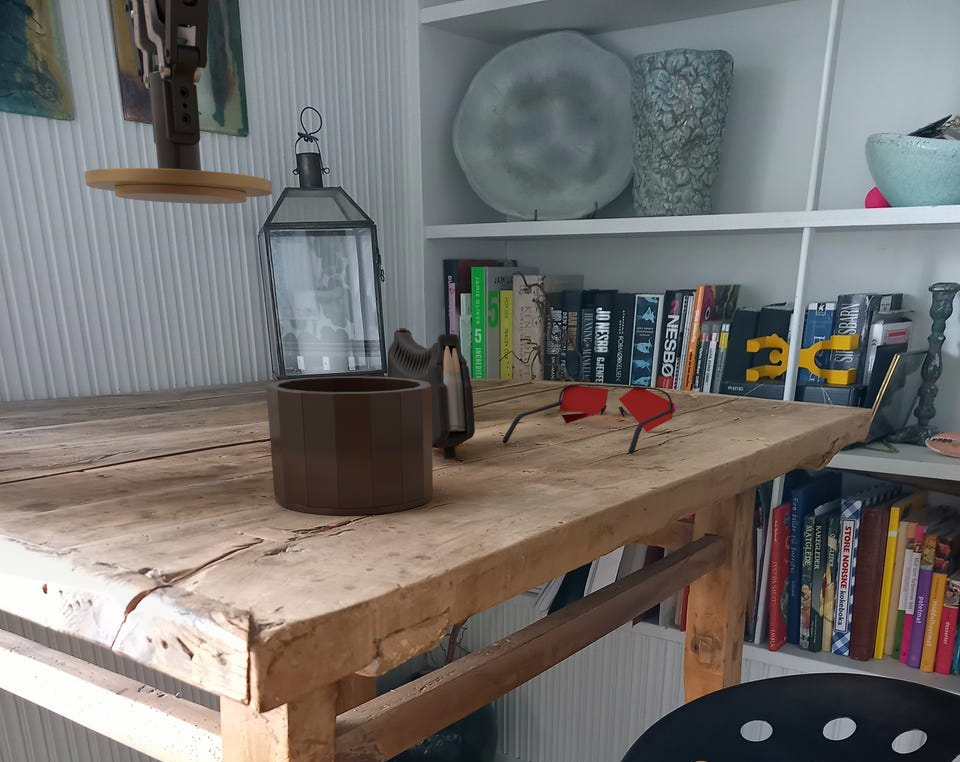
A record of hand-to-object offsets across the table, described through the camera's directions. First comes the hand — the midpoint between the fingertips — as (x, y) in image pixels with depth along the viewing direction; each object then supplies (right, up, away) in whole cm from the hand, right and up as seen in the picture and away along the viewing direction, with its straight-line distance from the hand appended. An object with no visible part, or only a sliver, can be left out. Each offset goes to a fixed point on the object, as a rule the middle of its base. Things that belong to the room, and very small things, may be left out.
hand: (177, 144), depth 67 cm
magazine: (+16, -15, +32) cm, 38 cm away
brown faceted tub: (+12, -25, +5) cm, 28 cm away
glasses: (+34, -14, +33) cm, 49 cm away
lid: (0, -3, +1) cm, 3 cm away
